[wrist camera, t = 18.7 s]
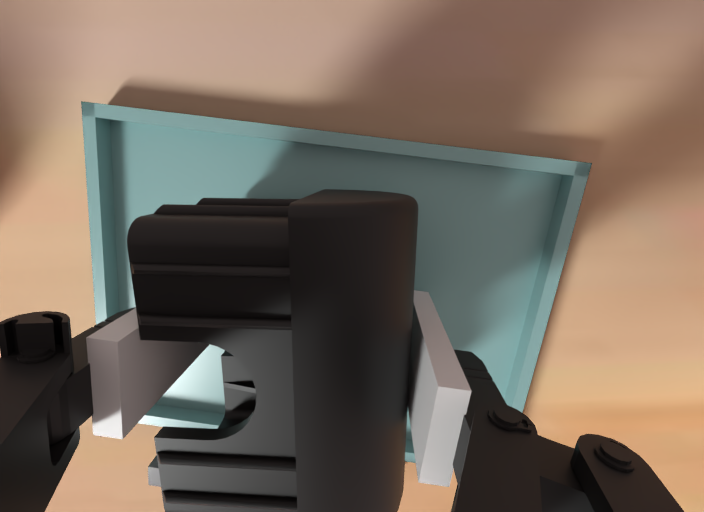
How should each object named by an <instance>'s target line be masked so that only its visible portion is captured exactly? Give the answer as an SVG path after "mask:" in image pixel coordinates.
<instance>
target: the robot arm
mask: <svg viewBox="0 0 704 512" xmlns="http://www.w3.org/2000/svg"><path fill="white" fill-rule="evenodd" d="M208 346H209V344H207V343H199V342H178V341H151V340H140V333H139V326H138V319H137V312H136V307H133V308H130V309H127V310H124V311H121V312H117V313H116V314H114V315H112V316H110V317H109V318H107V319H105V321H102V322H100V323H98V324H97V325H95V326H94V327H91V328H90V329H88V330H86V331H84V332H83V333H81V334H79V335H77V336H76V337H74V338H72V339H71V328H70V318H69V317H68V316H67V315H66V314H64V313H60V312H49V311H45V312H33V313H27V314H22V315H18V316H15V317H12V318H8V319H6V320H4V321H2V322H0V351H1V358H0V512H45V510H46V508H47V506H48V504H49V502H50V500H51V498H52V496H53V494H54V492H55V490H56V488H57V486H58V484H59V482H60V480H61V478H62V476H63V474H64V472H65V470H66V468H67V466H68V464H69V462H70V460H71V458H72V456H73V454H74V452H75V450H76V448H77V446H78V444H79V439H80V431H79V426H80V425H81V424H83V423H84V422H85V421H86V420H87V419H88V418H89V417H91V416H92V422H93V435H97V436H104V437H111V438H118V439H123V438H124V437H125V436H126V435H127V434H128V433H129V432H130V431H131V430H132V428H133V427H134V426H135V425H136V424H137V423H138V422H139V421H140V420H141V419H142V418H143V416H144V415H145V414H146V413H147V412H148V411H149V410H150V409H151V408H152V407H153V406H154V404H155V403H156V402H157V401H158V400H159V399H160V398H161V397H162V396H163V395H164V394H165V392H166V391H167V390H168V389H169V388H170V387H171V386H172V385H173V384H174V383H175V382H176V380H177V379H178V378H179V377H180V376H181V375H182V374H183V373H184V372H185V371H186V370H187V368H188V367H189V366H190V365H191V364H192V363H193V362H194V361H195V360H196V359H197V358H198V356H199V355H200V354H201V353H202V352H203V351H204V350H205V349H206V348H207V347H208ZM408 412H409V419H410V426H411V433H412V440H413V447H414V454H415V461H416V468H417V475H418V482H419V483H426V484H433V485H439V486H446V487H449V486H450V481H451V477H452V473H453V468H454V471H455V475H456V479H457V483H458V485H457V489H456V493H455V497H454V501H453V506H452V510H451V512H684V511H683V510H682V508H681V507H680V506H679V504H678V503H677V502H676V500H675V499H674V498H673V496H672V495H671V494H670V492H669V491H668V490H667V488H666V487H665V486H664V485H663V483H662V482H661V481H660V479H659V478H658V477H657V475H656V474H655V473H654V471H653V470H652V469H651V467H650V466H649V465H648V464H647V463H646V462H645V461H644V460H643V459H642V458H641V457H640V456H639V455H638V454H636V453H635V452H633V451H632V450H631V449H629V448H628V447H627V446H625V445H623V444H622V443H620V442H618V441H616V440H613V439H611V438H607V437H604V436H600V435H594V434H586V435H582V436H580V437H579V439H578V441H577V443H576V446H575V449H574V448H571V447H568V446H566V445H563V444H560V443H557V442H554V441H551V440H549V439H546V438H544V437H541V436H539V435H537V430H536V428H535V425H534V424H533V422H532V421H531V420H530V419H529V418H528V417H527V416H526V415H524V414H523V413H521V412H520V411H519V410H517V409H515V408H513V407H510V406H508V405H507V404H506V402H505V400H504V399H503V397H502V395H501V393H500V391H499V390H498V388H497V386H496V384H495V382H494V381H493V379H492V377H491V375H490V373H488V370H487V368H486V366H485V365H484V363H483V361H482V360H481V359H479V358H478V357H477V356H476V355H475V354H474V353H472V352H469V351H462V350H455V349H453V347H452V345H451V343H450V340H449V338H448V336H447V334H446V331H445V329H444V327H443V324H442V322H441V320H440V318H439V315H438V313H437V311H436V308H435V306H434V304H433V302H432V299H431V297H430V295H429V292H424V291H416V290H414V301H413V319H412V338H411V356H410V374H409V393H408Z"/></svg>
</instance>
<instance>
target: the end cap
mask: <svg viewBox="0 0 704 512" xmlns="http://www.w3.org/2000/svg"><path fill="white" fill-rule="evenodd" d="M417 227H418V203H417V201H416V200H415V199H414V198H413V197H411V196H409V195H405V194H400V193H392V192H382V191H367V190H342V189H323V190H321V191H319V192H316V193H314V194H311V195H309V196H306V197H304V198H301V199H257V198H202V199H201V200H200V201H199V202H198V203H197V204H196V205H176V204H163V205H162V206H160V207H159V208H158V209H157V210H156V211H155V212H154V214H149V215H144V216H140V217H138V218H136V219H135V220H134V221H133V222H132V223H131V226H130V228H129V230H128V235H127V249H128V256H129V263H130V270H131V277H132V284H133V291H134V298H135V305H136V312H137V319H138V326H139V333H140V340H151V341H178V342H199V343H207V344H210V345H214V346H217V347H219V348H221V349H223V350H225V351H224V353H223V354H222V355H221V363H222V375H223V387H224V399H225V415H224V418H223V420H222V422H221V424H220V425H219V427H218V429H208V428H188V427H167V426H163V428H162V429H161V430H160V431H159V433H158V434H157V435H156V436H155V437H154V439H155V446H156V453H157V460H158V467H159V474H160V482H161V489H162V496H163V503H164V509H165V512H397V511H398V509H399V505H400V501H401V497H402V493H403V485H404V466H405V448H406V430H407V411H408V393H409V374H410V356H411V338H412V319H413V301H414V283H415V264H416V246H417Z"/></svg>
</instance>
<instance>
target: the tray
mask: <svg viewBox="0 0 704 512" xmlns="http://www.w3.org/2000/svg"><path fill="white" fill-rule="evenodd" d="M81 105H82V120H83V135H84V150H85V165H86V180H87V195H88V210H89V225H90V240H91V256H92V271H93V286H94V301H95V316H96V325H97V324H98V323H100V322H102V321H105V319H107V318H109V317H110V316H112V315H114V314H116V313H117V312H121V311H124V310H127V309H130V308H133V307H136V305H135V298H134V291H133V284H132V277H131V270H130V263H129V256H128V249H127V235H128V230H129V228H130V226H131V223H132V222H133V221H134V220H135V219H136V218H138V217H140V216H144V215H149V214H154V212H155V211H156V210H157V209H158V208H159V207H160V206H162V205H163V204H176V205H196V204H197V203H198V202H199V201H200V200H201V199H202V198H257V199H301V198H304V197H306V196H309V195H311V194H314V193H316V192H319V191H321V190H323V189H342V190H367V191H382V192H392V193H400V194H405V195H409V196H411V197H413V198H414V199H415V200H416V201H417V203H418V227H417V246H416V264H415V283H414V290H416V291H424V292H429V295H430V297H431V299H432V302H433V304H434V306H435V308H436V311H437V313H438V315H439V318H440V320H441V322H442V324H443V327H444V329H445V331H446V334H447V336H448V338H449V340H450V343H451V345H452V347H453V349H455V350H462V351H469V352H472V353H474V354H475V355H476V356H477V357H478V358H479V359H481V360H482V361H483V363H484V365H485V366H486V368H487V370H488V373H490V375H491V377H492V379H493V381H494V382H495V384H496V386H497V388H498V390H499V391H500V393H501V395H502V397H503V399H504V400H505V402H506V404H507V405H508V406H510V407H513V408H515V409H517V410H519V411H520V412H521V413H522V412H523V409H524V405H525V401H526V398H527V394H528V391H529V387H530V384H531V380H532V376H533V373H534V369H535V366H536V362H537V358H538V355H539V351H540V348H541V344H542V340H543V337H544V333H545V330H546V326H547V323H548V319H549V315H550V312H551V308H552V305H553V301H554V297H555V294H556V290H557V287H558V283H559V279H560V276H561V272H562V269H563V265H564V261H565V258H566V254H567V251H568V247H569V244H570V240H571V236H572V233H573V229H574V226H575V222H576V218H577V215H578V211H579V208H580V204H581V200H582V197H583V193H584V190H585V186H586V182H587V179H588V175H589V172H590V168H591V165H592V163H586V162H578V161H569V160H561V159H553V158H545V157H536V156H528V155H520V154H511V153H503V152H495V151H487V150H478V149H470V148H462V147H454V146H445V145H437V144H429V143H421V142H412V141H404V140H396V139H387V138H379V137H371V136H363V135H354V134H346V133H338V132H330V131H321V130H313V129H305V128H297V127H288V126H280V125H272V124H263V123H255V122H247V121H239V120H230V119H222V118H214V117H206V116H197V115H189V114H181V113H173V112H164V111H156V110H148V109H139V108H131V107H123V106H115V105H106V104H98V103H90V102H82V101H81ZM224 351H225V350H223V349H221V348H219V347H217V346H214V345H210V344H209V346H208V347H207V348H206V349H205V350H204V351H203V352H202V353H201V354H200V355H199V356H198V358H197V359H196V360H195V361H194V362H193V363H192V364H191V365H190V366H189V367H188V368H187V370H186V371H185V372H184V373H183V374H182V375H181V376H180V377H179V378H178V379H177V380H176V382H175V383H174V384H173V385H172V386H171V387H170V388H169V389H168V390H167V391H166V392H165V394H164V395H163V396H162V397H161V398H160V399H159V400H158V401H157V402H156V403H155V404H154V406H153V407H152V408H151V409H150V410H149V411H148V412H147V413H146V414H145V415H144V416H143V418H142V419H141V420H140V421H139V422H138V423H140V424H147V425H154V426H161V427H163V426H167V427H188V428H208V429H218V427H219V425H220V424H221V422H222V420H223V418H224V415H225V399H224V387H223V375H222V363H221V355H222V354H223V353H224ZM405 461H406V462H413V463H416V461H415V454H414V447H413V440H412V433H411V426H410V419H409V412H408V411H407V430H406V448H405Z"/></svg>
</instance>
